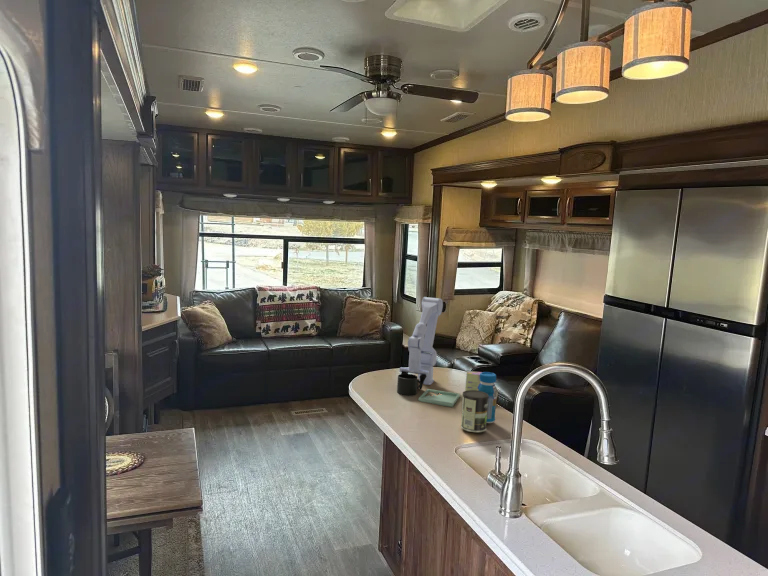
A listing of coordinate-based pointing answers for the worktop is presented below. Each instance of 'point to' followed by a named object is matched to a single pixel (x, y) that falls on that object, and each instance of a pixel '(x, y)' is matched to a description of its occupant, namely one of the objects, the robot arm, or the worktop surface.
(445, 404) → the tray
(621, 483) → the worktop surface
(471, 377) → the box
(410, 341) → the robot arm
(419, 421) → the worktop surface
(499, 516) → the worktop surface
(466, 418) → the coffee can
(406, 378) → the mug
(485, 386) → the beverage bottle
